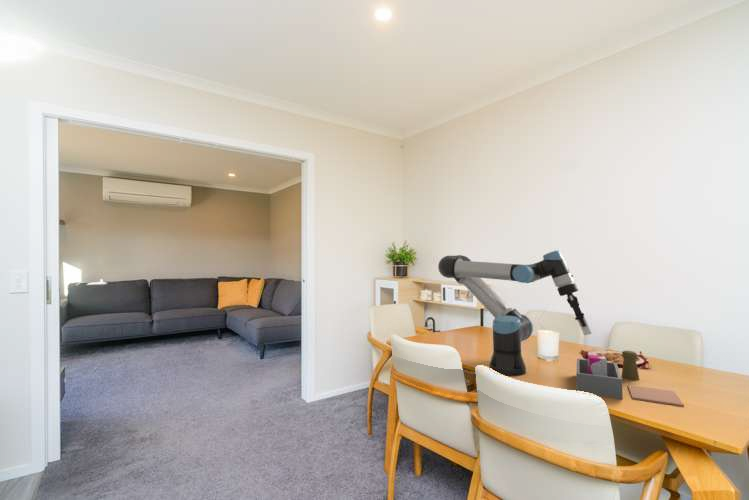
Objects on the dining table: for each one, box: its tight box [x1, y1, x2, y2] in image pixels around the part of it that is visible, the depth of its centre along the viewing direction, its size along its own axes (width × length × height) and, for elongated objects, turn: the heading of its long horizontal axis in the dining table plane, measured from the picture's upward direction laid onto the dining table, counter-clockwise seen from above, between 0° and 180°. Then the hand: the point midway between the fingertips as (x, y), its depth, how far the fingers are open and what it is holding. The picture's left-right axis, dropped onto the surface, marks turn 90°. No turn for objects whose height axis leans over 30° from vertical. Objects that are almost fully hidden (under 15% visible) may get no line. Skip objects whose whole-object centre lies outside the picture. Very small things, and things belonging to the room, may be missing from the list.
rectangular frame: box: [575, 358, 623, 400], centre depth 139 cm, size 14×22×7 cm, turn 150°
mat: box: [627, 384, 685, 408], centre depth 128 cm, size 14×14×1 cm
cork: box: [621, 350, 640, 381], centre depth 147 cm, size 6×6×11 cm
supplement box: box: [588, 355, 607, 376], centre depth 139 cm, size 6×6×12 cm
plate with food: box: [580, 349, 652, 371], centre depth 171 cm, size 25×26×4 cm
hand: (587, 332), depth 150 cm, fingers open, 13 cm apart
